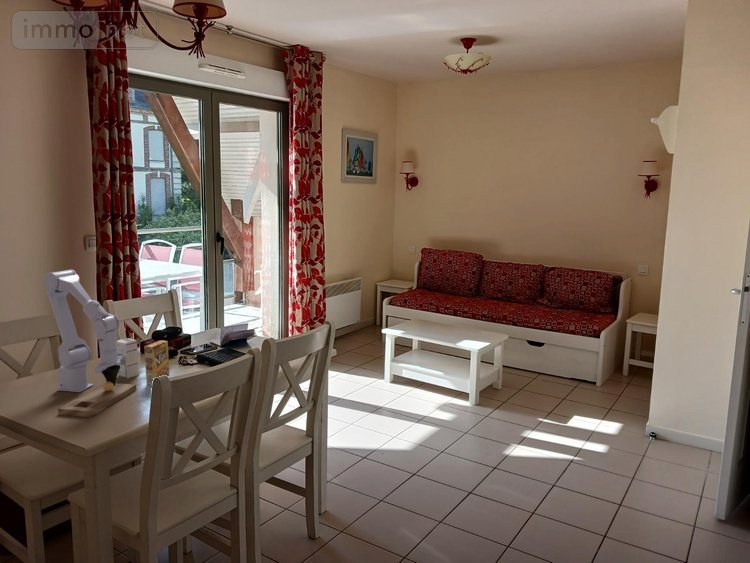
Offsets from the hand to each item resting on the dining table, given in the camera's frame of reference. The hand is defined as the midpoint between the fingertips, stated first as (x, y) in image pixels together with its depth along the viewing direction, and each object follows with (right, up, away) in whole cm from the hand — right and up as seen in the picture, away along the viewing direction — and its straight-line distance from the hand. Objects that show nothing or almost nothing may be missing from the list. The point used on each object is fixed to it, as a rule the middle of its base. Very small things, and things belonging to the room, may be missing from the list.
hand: (111, 386), depth 211 cm
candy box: (+11, -1, +15) cm, 19 cm away
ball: (-1, 0, -1) cm, 1 cm away
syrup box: (-3, 0, +22) cm, 22 cm away
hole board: (-2, -4, -6) cm, 7 cm away
